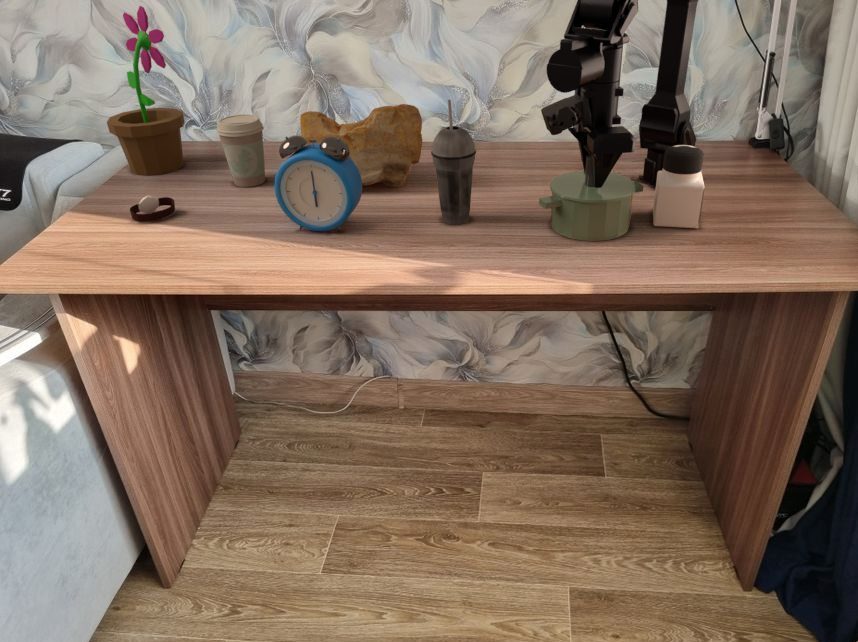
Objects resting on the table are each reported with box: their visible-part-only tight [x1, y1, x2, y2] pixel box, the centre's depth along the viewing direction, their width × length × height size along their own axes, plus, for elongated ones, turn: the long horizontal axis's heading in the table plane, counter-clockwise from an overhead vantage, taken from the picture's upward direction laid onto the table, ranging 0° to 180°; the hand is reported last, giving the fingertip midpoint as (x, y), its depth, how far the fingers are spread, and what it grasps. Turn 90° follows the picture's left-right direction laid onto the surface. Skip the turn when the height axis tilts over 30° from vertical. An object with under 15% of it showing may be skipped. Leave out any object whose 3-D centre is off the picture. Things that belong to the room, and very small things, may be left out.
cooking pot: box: [538, 180, 644, 242], centre depth 118 cm, size 13×18×6 cm
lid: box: [549, 155, 636, 203], centre depth 116 cm, size 14×14×6 cm
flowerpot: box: [106, 5, 186, 176], centre depth 143 cm, size 14×14×30 cm
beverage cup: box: [430, 99, 477, 226], centre depth 118 cm, size 7×7×20 cm
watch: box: [129, 194, 176, 223], centre depth 126 cm, size 8×5×4 cm, turn 135°
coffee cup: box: [216, 113, 266, 188], centre depth 139 cm, size 8×9×12 cm
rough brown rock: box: [299, 103, 423, 188], centre depth 138 cm, size 23×17×15 cm
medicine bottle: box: [652, 145, 706, 229], centre depth 118 cm, size 7×7×12 cm
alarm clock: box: [274, 135, 363, 233], centre depth 118 cm, size 13×6×15 cm, turn 81°
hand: (592, 181), depth 116 cm, fingers open, 5 cm apart
